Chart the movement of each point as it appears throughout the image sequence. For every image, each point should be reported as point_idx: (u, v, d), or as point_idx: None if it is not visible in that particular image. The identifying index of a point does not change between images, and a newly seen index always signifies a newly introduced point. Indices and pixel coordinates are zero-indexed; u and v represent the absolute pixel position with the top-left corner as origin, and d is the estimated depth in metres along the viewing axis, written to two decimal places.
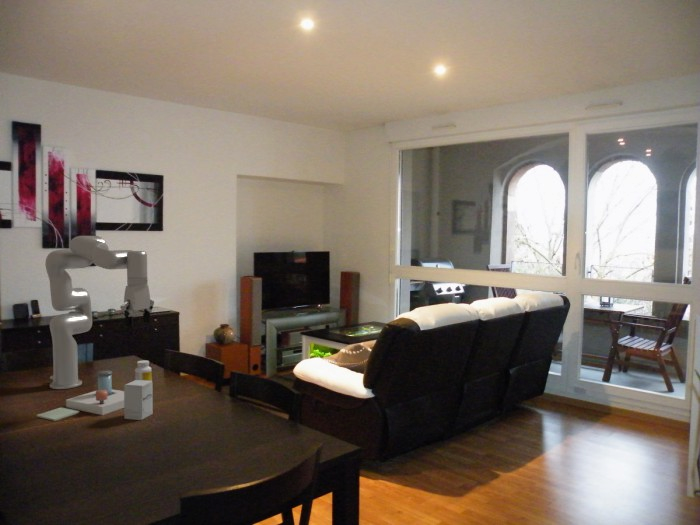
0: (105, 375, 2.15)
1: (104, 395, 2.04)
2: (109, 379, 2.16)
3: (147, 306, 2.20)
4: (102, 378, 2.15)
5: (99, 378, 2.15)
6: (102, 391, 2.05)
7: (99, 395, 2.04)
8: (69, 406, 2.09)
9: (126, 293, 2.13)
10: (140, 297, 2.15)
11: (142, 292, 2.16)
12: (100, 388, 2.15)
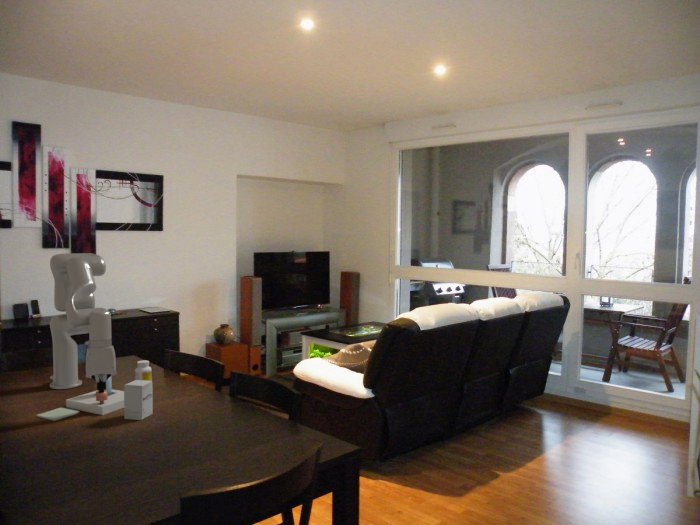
0: None
1: (104, 395, 2.04)
2: (109, 379, 2.16)
3: None
4: (102, 378, 2.15)
5: None
6: None
7: (99, 396, 2.04)
8: (69, 406, 2.09)
9: (114, 354, 2.05)
10: None
11: None
12: None
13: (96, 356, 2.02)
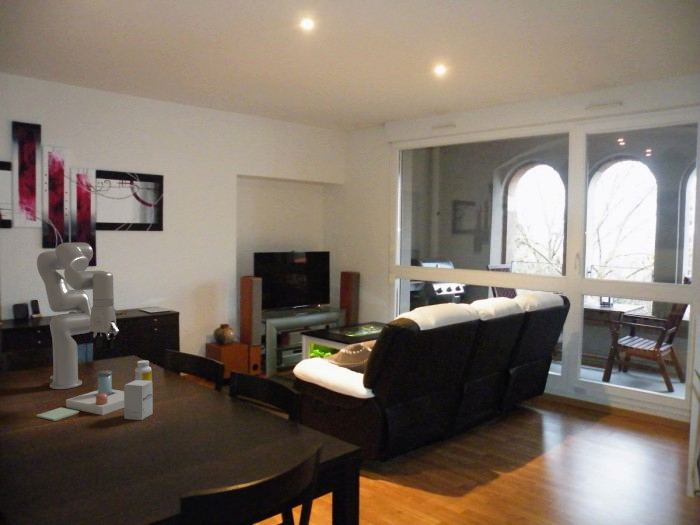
0: (105, 375, 2.15)
1: (104, 398, 2.04)
2: (109, 379, 2.16)
3: None
4: (102, 378, 2.15)
5: (99, 378, 2.15)
6: (102, 395, 2.05)
7: (99, 399, 2.04)
8: (69, 406, 2.09)
9: (109, 315, 2.13)
10: None
11: None
12: (100, 388, 2.15)
13: (95, 314, 2.14)
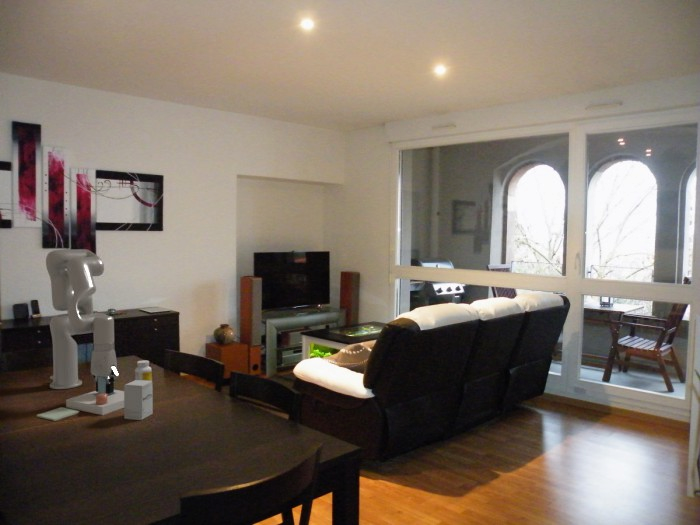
0: None
1: (104, 398, 2.04)
2: None
3: None
4: (102, 378, 2.15)
5: (99, 378, 2.15)
6: (102, 395, 2.05)
7: (99, 399, 2.04)
8: (69, 406, 2.09)
9: (110, 359, 2.14)
10: None
11: None
12: (100, 388, 2.15)
13: (96, 358, 2.15)
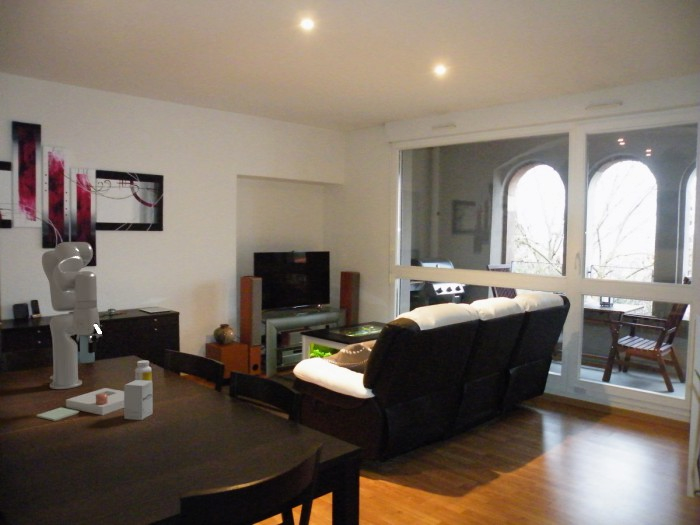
0: None
1: (104, 398, 2.04)
2: None
3: None
4: (84, 337, 2.08)
5: (81, 337, 2.08)
6: (102, 395, 2.05)
7: (99, 399, 2.04)
8: (69, 406, 2.09)
9: (93, 316, 2.07)
10: None
11: None
12: (82, 347, 2.08)
13: (77, 316, 2.08)
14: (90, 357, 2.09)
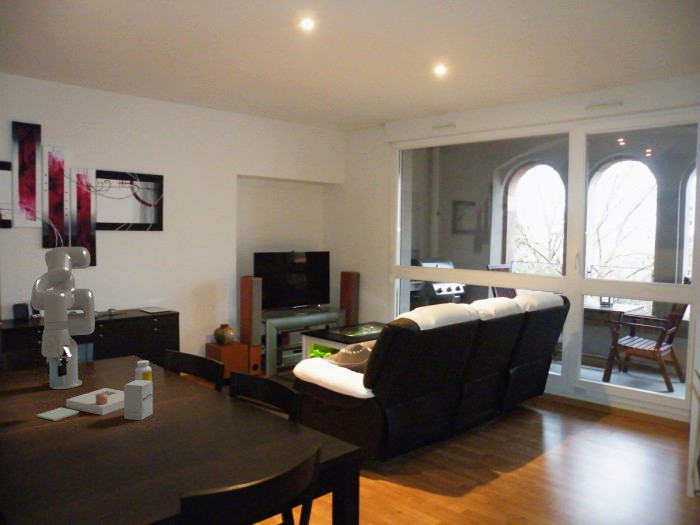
0: None
1: (104, 398, 2.04)
2: None
3: None
4: (53, 359, 1.98)
5: (50, 359, 1.98)
6: (102, 395, 2.05)
7: (99, 399, 2.04)
8: (69, 406, 2.09)
9: (62, 338, 1.97)
10: None
11: None
12: (51, 370, 1.98)
13: (47, 338, 1.98)
14: (60, 381, 1.99)
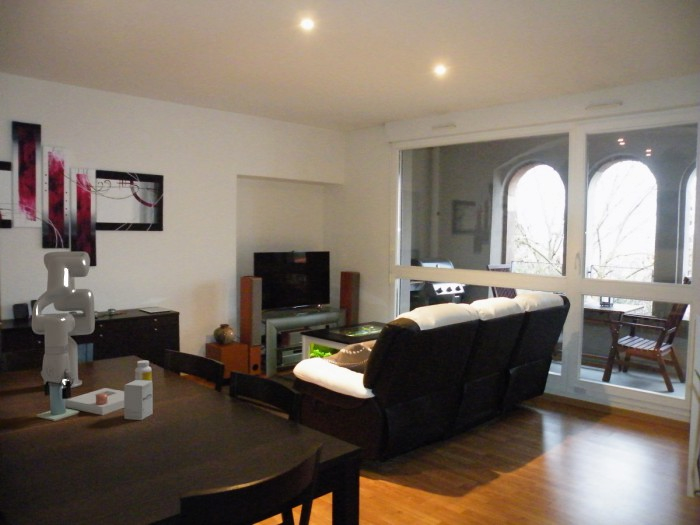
0: (57, 385, 1.99)
1: (104, 398, 2.04)
2: None
3: None
4: (54, 388, 1.99)
5: (51, 388, 1.99)
6: (102, 395, 2.05)
7: (99, 399, 2.04)
8: (69, 406, 2.09)
9: (63, 363, 1.98)
10: None
11: None
12: (52, 399, 1.99)
13: (47, 363, 1.99)
14: (61, 409, 2.00)
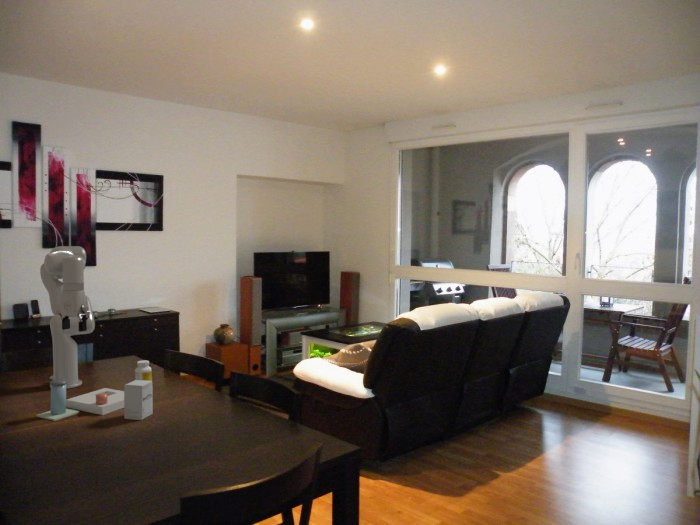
0: (58, 385, 1.99)
1: (104, 398, 2.04)
2: (63, 389, 2.00)
3: None
4: (55, 388, 1.99)
5: (52, 388, 1.99)
6: (102, 395, 2.05)
7: (99, 399, 2.04)
8: (69, 406, 2.09)
9: (79, 299, 2.14)
10: None
11: None
12: (52, 398, 1.99)
13: (65, 299, 2.15)
14: (61, 409, 2.00)
